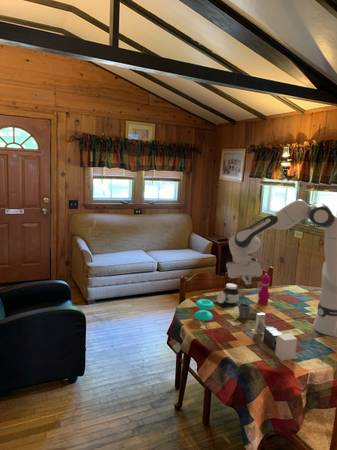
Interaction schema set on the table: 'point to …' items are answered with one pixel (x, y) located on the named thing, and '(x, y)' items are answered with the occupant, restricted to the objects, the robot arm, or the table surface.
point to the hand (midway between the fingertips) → (248, 283)
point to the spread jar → (229, 294)
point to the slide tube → (261, 324)
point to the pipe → (246, 311)
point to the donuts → (202, 313)
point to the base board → (259, 340)
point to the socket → (286, 346)
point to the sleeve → (270, 337)
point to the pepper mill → (264, 290)
